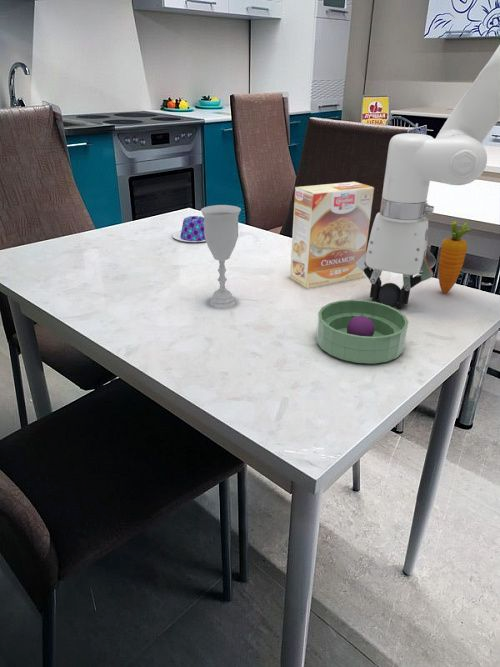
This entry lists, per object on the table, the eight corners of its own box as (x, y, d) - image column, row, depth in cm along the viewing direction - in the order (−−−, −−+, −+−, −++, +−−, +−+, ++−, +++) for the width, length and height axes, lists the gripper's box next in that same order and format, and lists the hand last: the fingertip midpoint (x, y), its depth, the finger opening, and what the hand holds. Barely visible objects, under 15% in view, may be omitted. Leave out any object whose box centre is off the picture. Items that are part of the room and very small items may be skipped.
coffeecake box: (306, 289, 104) (313, 193, 95) (288, 278, 109) (293, 186, 100) (364, 278, 110) (375, 186, 101) (344, 267, 115) (353, 180, 106)
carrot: (451, 289, 105) (467, 217, 98) (461, 298, 100) (478, 224, 93) (428, 289, 105) (441, 217, 98) (436, 298, 100) (451, 224, 93)
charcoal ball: (387, 298, 100) (390, 277, 98) (404, 306, 97) (408, 285, 95) (371, 303, 98) (374, 282, 96) (388, 311, 95) (391, 289, 93)
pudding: (181, 230, 141) (180, 211, 139) (222, 233, 139) (222, 214, 137) (166, 242, 131) (165, 222, 128) (211, 246, 129) (210, 225, 126)
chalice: (224, 293, 101) (223, 203, 93) (248, 303, 97) (249, 209, 89) (196, 303, 97) (192, 209, 89) (220, 314, 93) (218, 216, 84)
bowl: (360, 319, 91) (363, 293, 89) (421, 351, 81) (427, 323, 79) (299, 337, 85) (300, 311, 82) (357, 376, 74) (360, 346, 72)
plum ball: (359, 333, 85) (362, 309, 83) (378, 343, 82) (381, 318, 80) (340, 339, 83) (342, 315, 81) (358, 350, 80) (361, 325, 78)
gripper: (455, 210, 88) (436, 305, 97) (361, 199, 95) (351, 289, 104) (449, 220, 82) (429, 321, 91) (349, 207, 89) (339, 302, 98)
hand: (388, 303), depth 97 cm, fingers closed on charcoal ball, 4 cm apart
